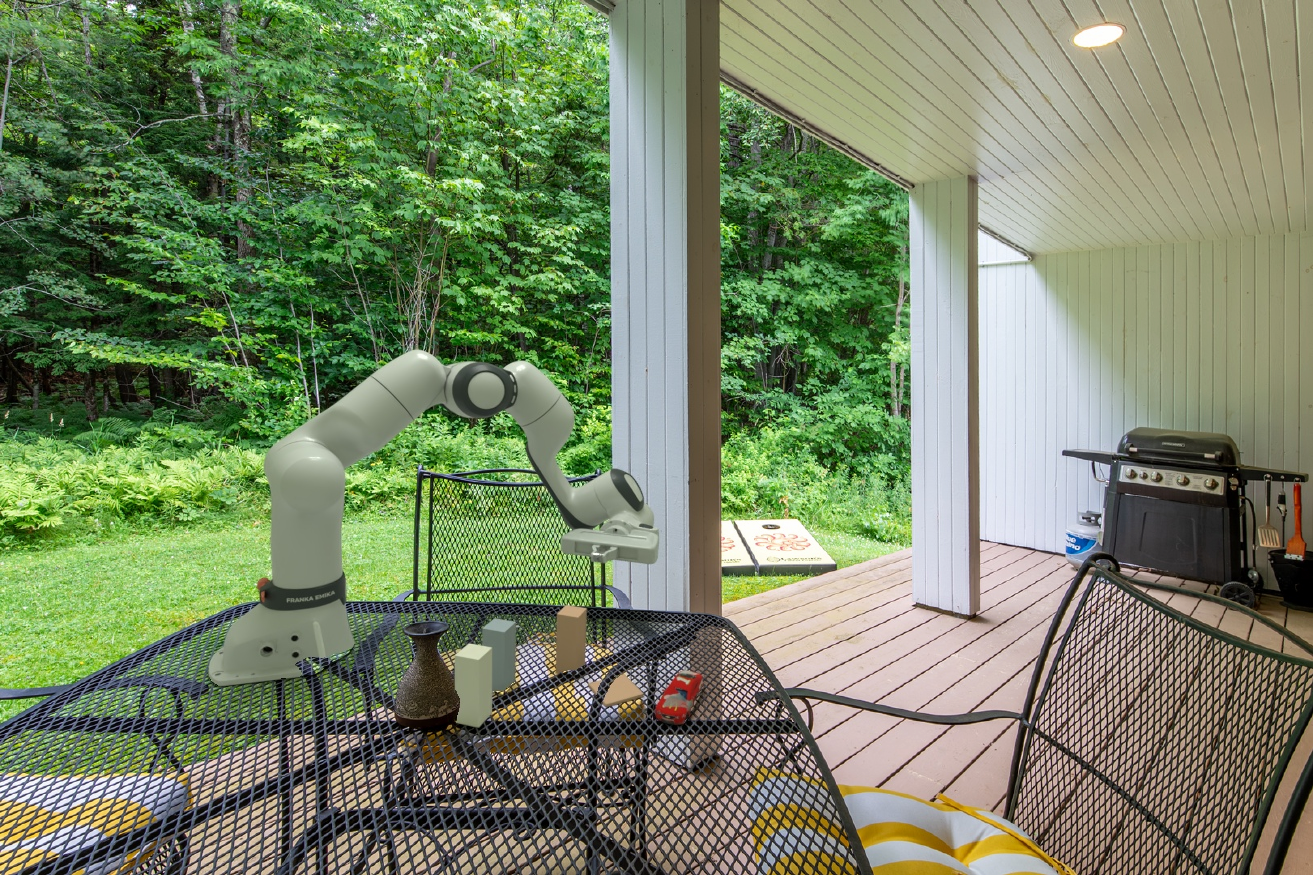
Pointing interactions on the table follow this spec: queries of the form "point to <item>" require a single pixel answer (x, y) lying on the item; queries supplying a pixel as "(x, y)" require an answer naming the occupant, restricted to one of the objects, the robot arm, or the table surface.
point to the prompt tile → (618, 691)
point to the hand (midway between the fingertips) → (597, 558)
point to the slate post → (501, 651)
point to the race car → (679, 698)
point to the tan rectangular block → (571, 638)
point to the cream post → (474, 684)
